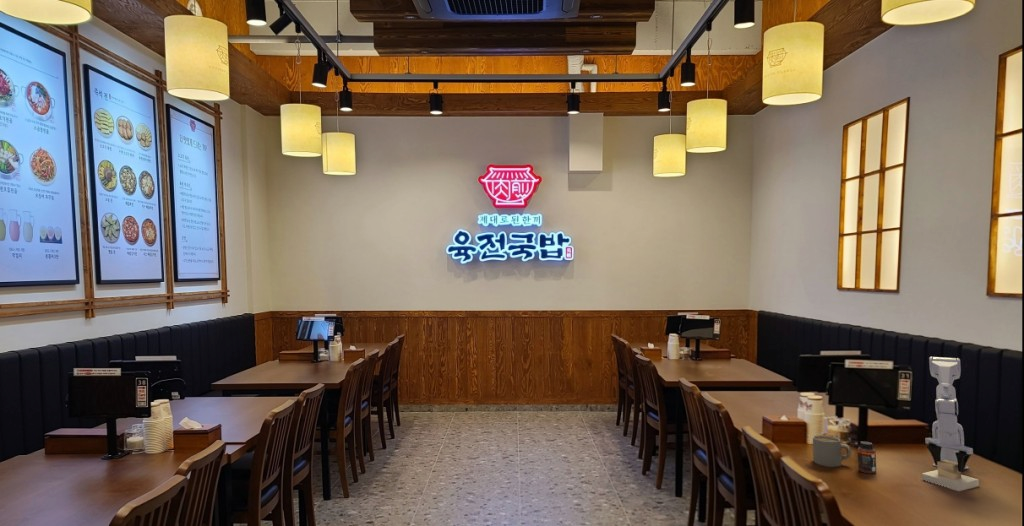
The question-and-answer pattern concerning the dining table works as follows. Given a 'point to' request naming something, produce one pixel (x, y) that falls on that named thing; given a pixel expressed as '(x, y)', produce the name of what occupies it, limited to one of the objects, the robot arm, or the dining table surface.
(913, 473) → the dining table surface
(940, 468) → the maple cube
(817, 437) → the coffee mug
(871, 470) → the supplement bottle
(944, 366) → the robot arm
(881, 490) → the dining table surface
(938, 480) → the beige block
